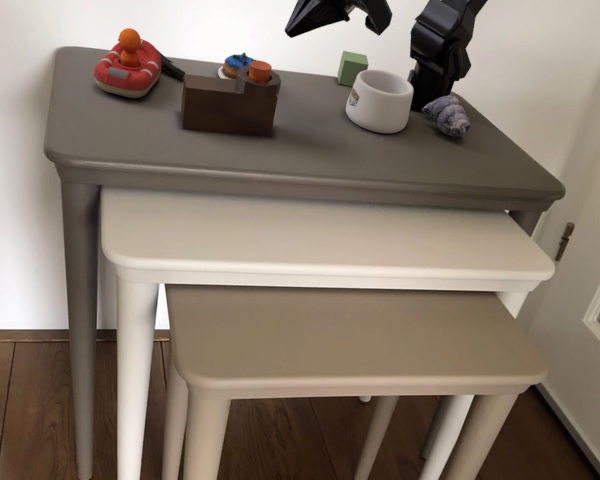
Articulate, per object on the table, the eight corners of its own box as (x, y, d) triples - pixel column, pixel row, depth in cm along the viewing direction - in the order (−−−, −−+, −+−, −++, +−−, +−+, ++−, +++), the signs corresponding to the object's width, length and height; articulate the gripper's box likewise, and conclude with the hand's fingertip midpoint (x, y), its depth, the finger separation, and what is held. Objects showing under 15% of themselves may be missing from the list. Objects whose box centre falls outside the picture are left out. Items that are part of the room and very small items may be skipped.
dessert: (220, 84, 99) (225, 42, 98) (213, 92, 105) (216, 53, 104) (272, 94, 101) (277, 53, 101) (261, 101, 107) (266, 63, 107)
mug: (414, 137, 101) (427, 99, 97) (355, 133, 97) (366, 94, 93) (387, 100, 109) (398, 64, 105) (332, 95, 106) (341, 58, 101)
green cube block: (360, 78, 113) (366, 55, 110) (362, 88, 110) (368, 64, 107) (337, 74, 112) (343, 50, 110) (338, 83, 110) (344, 59, 107)
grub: (423, 119, 109) (454, 154, 103) (415, 95, 104) (446, 130, 98) (452, 101, 108) (484, 134, 102) (444, 76, 104) (478, 109, 98)
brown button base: (267, 120, 95) (277, 68, 90) (274, 140, 91) (284, 87, 86) (180, 111, 92) (184, 57, 87) (182, 131, 88) (187, 76, 83)
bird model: (110, 28, 99) (107, 46, 101) (182, 72, 97) (178, 89, 98) (124, 26, 101) (121, 43, 103) (195, 69, 99) (190, 85, 101)
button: (267, 74, 89) (270, 61, 88) (271, 83, 87) (273, 70, 86) (247, 72, 88) (249, 59, 87) (249, 81, 86) (251, 68, 85)
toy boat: (165, 75, 99) (170, 22, 94) (143, 106, 91) (146, 51, 85) (115, 61, 99) (117, 8, 94) (87, 92, 90) (88, 35, 85)
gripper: (304, -137, 82) (217, -40, 84) (402, -89, 72) (301, 19, 74) (339, -64, 91) (260, 22, 93) (430, -13, 82) (339, 81, 83)
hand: (287, 34), depth 86 cm, fingers closed
